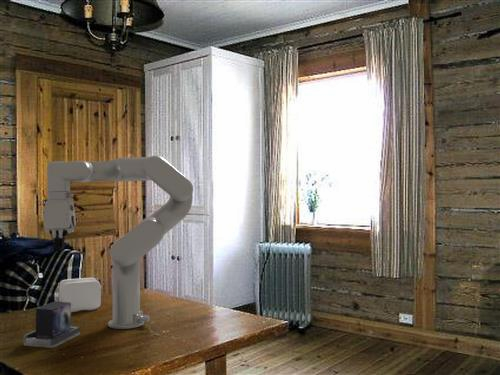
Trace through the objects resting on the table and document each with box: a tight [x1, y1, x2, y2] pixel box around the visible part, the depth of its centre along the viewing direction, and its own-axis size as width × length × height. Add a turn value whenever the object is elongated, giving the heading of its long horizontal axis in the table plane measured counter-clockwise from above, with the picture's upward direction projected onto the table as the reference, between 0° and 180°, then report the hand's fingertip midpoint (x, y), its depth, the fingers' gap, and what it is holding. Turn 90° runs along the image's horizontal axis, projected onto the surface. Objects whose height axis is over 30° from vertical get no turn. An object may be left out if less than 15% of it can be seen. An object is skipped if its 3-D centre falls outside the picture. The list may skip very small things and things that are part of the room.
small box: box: [35, 300, 72, 339], centre depth 164 cm, size 11×6×10 cm, turn 167°
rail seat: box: [23, 326, 81, 349], centre depth 164 cm, size 10×14×3 cm
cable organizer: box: [58, 277, 102, 313], centre depth 206 cm, size 15×11×12 cm
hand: (59, 249), depth 177 cm, fingers closed
